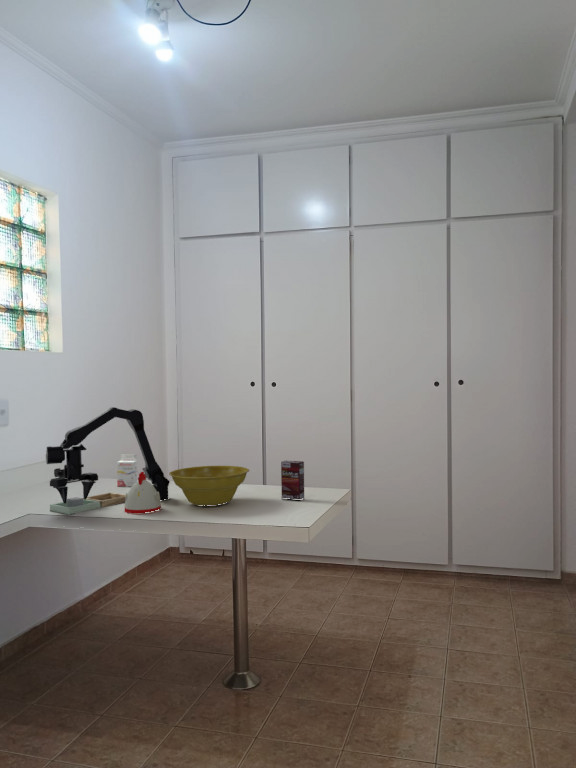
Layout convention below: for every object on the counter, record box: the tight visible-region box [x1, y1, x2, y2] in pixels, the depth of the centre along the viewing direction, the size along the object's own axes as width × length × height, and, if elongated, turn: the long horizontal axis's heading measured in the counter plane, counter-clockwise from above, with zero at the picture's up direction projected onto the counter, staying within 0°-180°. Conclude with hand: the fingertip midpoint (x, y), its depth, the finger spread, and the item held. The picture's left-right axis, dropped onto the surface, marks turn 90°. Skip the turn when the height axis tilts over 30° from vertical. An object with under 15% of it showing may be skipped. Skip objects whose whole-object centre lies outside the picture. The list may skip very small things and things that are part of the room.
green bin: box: [49, 499, 101, 516], centre depth 262 cm, size 13×14×2 cm
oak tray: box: [82, 492, 126, 508], centre depth 274 cm, size 13×14×2 cm
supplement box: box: [280, 459, 305, 499], centre depth 273 cm, size 9×5×16 cm, turn 62°
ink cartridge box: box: [116, 453, 138, 487], centre depth 314 cm, size 9×5×15 cm, turn 84°
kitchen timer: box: [124, 471, 162, 514], centre depth 258 cm, size 14×14×15 cm
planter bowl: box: [168, 465, 250, 506], centre depth 268 cm, size 32×32×13 cm
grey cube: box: [67, 496, 84, 507], centre depth 262 cm, size 4×4×4 cm
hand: (75, 501), depth 262 cm, fingers open, 9 cm apart
